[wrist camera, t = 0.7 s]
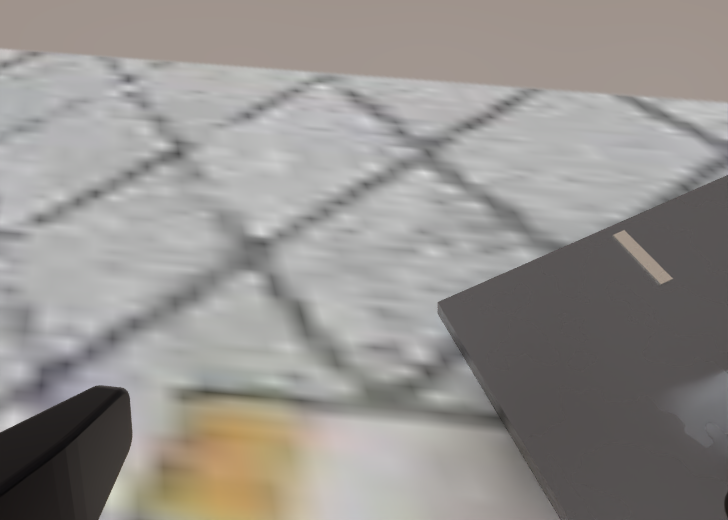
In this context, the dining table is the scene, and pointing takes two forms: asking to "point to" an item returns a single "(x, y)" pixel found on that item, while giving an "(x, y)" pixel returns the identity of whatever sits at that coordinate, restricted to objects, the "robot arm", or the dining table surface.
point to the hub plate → (614, 363)
